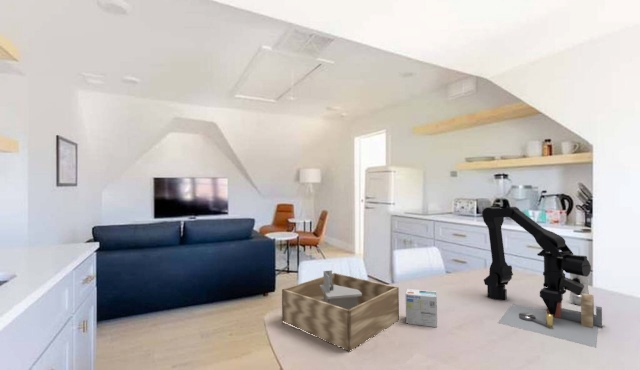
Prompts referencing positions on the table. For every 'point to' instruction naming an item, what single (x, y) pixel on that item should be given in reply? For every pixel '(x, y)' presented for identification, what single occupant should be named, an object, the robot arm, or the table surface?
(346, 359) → the table surface
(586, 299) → the tan rectangular block
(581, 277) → the plastic bottle
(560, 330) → the board
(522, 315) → the metal measuring spoon
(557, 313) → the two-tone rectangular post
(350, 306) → the architectural model
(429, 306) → the light bulb box
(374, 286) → the wooden crate
